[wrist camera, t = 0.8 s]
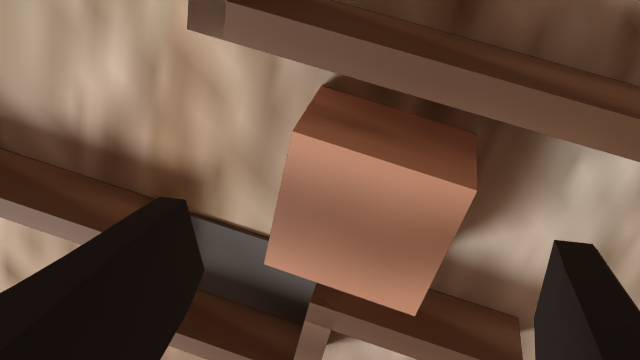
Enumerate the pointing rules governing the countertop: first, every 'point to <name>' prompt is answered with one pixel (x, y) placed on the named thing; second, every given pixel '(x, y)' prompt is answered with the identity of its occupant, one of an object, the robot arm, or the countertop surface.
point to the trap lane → (250, 249)
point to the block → (371, 199)
